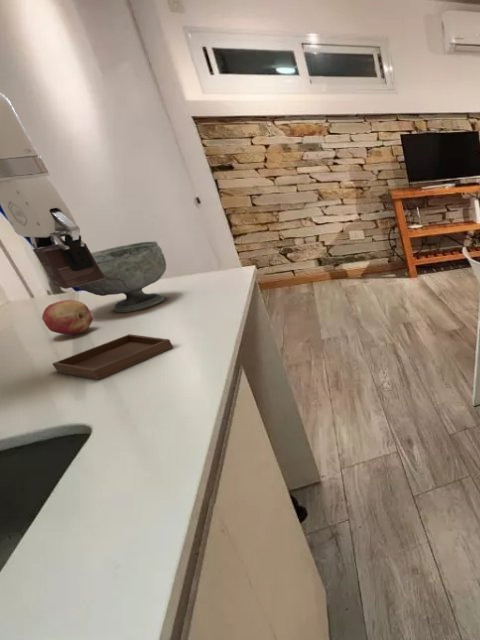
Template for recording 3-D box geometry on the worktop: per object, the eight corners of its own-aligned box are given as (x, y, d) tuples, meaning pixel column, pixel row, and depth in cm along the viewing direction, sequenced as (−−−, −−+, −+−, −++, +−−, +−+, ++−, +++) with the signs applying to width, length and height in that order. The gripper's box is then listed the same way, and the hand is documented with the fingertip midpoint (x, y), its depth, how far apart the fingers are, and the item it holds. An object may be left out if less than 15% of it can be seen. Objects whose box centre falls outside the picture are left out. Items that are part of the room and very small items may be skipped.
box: (106, 279, 92) (86, 242, 89) (64, 290, 88) (41, 251, 84) (95, 276, 95) (75, 240, 92) (54, 286, 90) (31, 248, 87)
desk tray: (99, 379, 89) (93, 370, 88) (57, 372, 93) (51, 363, 92) (173, 347, 100) (169, 339, 99) (133, 342, 104) (129, 334, 104)
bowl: (115, 299, 133) (86, 247, 126) (195, 287, 138) (171, 237, 131) (69, 326, 116) (32, 268, 109) (161, 312, 121) (132, 255, 114)
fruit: (66, 342, 107) (46, 309, 103) (46, 339, 109) (25, 307, 106) (107, 327, 114) (89, 296, 110) (86, 325, 116) (68, 294, 112)
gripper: (-44, 174, 82) (19, 272, 89) (14, 171, 76) (75, 276, 84) (15, 167, 88) (68, 260, 96) (72, 165, 83) (123, 263, 90)
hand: (71, 267), depth 90 cm, fingers closed on box, 6 cm apart
